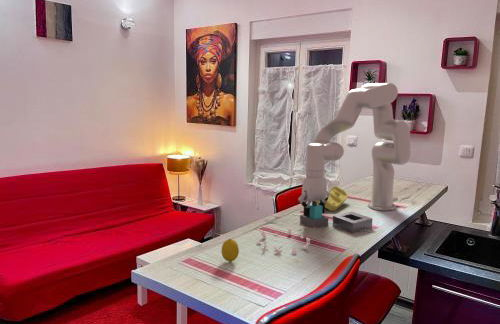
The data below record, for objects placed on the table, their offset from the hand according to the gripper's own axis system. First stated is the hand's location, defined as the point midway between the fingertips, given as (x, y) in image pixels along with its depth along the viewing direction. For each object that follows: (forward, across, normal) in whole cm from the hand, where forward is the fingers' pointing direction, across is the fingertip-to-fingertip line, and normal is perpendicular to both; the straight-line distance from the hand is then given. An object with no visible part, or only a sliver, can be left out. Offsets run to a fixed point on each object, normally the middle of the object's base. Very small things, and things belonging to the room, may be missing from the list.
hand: (314, 214), depth 156 cm
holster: (+4, 0, 0) cm, 4 cm away
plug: (+4, 0, 0) cm, 4 cm away
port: (+4, -10, +12) cm, 16 cm away
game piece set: (+5, +24, +11) cm, 27 cm away
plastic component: (+4, -25, -15) cm, 30 cm away
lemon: (+4, +48, +14) cm, 50 cm away
